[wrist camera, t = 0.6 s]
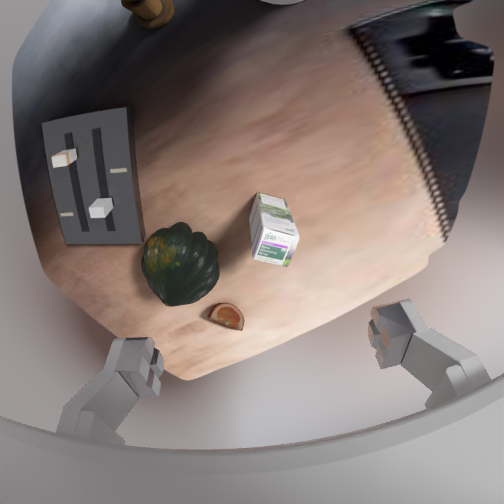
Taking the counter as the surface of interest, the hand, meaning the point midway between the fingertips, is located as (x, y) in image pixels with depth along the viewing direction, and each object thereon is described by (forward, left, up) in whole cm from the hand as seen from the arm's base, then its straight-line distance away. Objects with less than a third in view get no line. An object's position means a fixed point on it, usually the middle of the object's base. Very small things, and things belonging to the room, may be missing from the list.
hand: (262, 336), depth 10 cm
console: (+8, -28, -44) cm, 53 cm away
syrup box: (+15, +5, -44) cm, 47 cm away
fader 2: (+12, -25, -40) cm, 49 cm away
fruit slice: (+41, -3, -44) cm, 60 cm away
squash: (+24, -11, -44) cm, 51 cm away
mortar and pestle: (-22, -15, -44) cm, 51 cm away
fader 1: (+2, -31, -40) cm, 51 cm away
